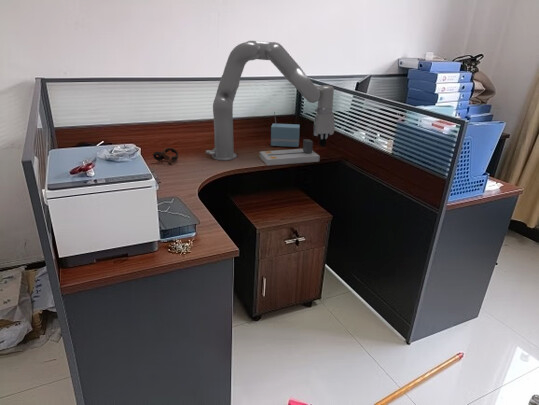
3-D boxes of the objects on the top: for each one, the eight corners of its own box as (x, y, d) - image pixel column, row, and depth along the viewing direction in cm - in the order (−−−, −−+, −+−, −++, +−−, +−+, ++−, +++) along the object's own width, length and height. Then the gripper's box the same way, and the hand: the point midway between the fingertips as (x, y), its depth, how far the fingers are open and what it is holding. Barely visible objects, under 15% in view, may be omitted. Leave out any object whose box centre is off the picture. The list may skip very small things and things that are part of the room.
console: (266, 165, 193) (267, 159, 191) (259, 157, 205) (259, 151, 204) (319, 161, 200) (319, 155, 199) (309, 153, 212) (309, 148, 211)
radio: (298, 144, 229) (300, 109, 221) (298, 148, 221) (300, 113, 213) (272, 142, 231) (272, 108, 222) (270, 147, 222) (271, 112, 214)
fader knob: (306, 153, 201) (306, 141, 199) (302, 150, 205) (303, 139, 203) (312, 152, 202) (312, 141, 199) (308, 150, 206) (309, 139, 204)
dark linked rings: (173, 158, 201) (177, 147, 196) (176, 171, 196) (181, 159, 191) (149, 156, 195) (153, 143, 190) (152, 169, 189) (157, 157, 184)
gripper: (313, 113, 192) (312, 149, 199) (341, 111, 196) (338, 146, 203) (308, 110, 198) (306, 145, 206) (335, 108, 202) (332, 143, 210)
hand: (322, 145), depth 205 cm, fingers closed
